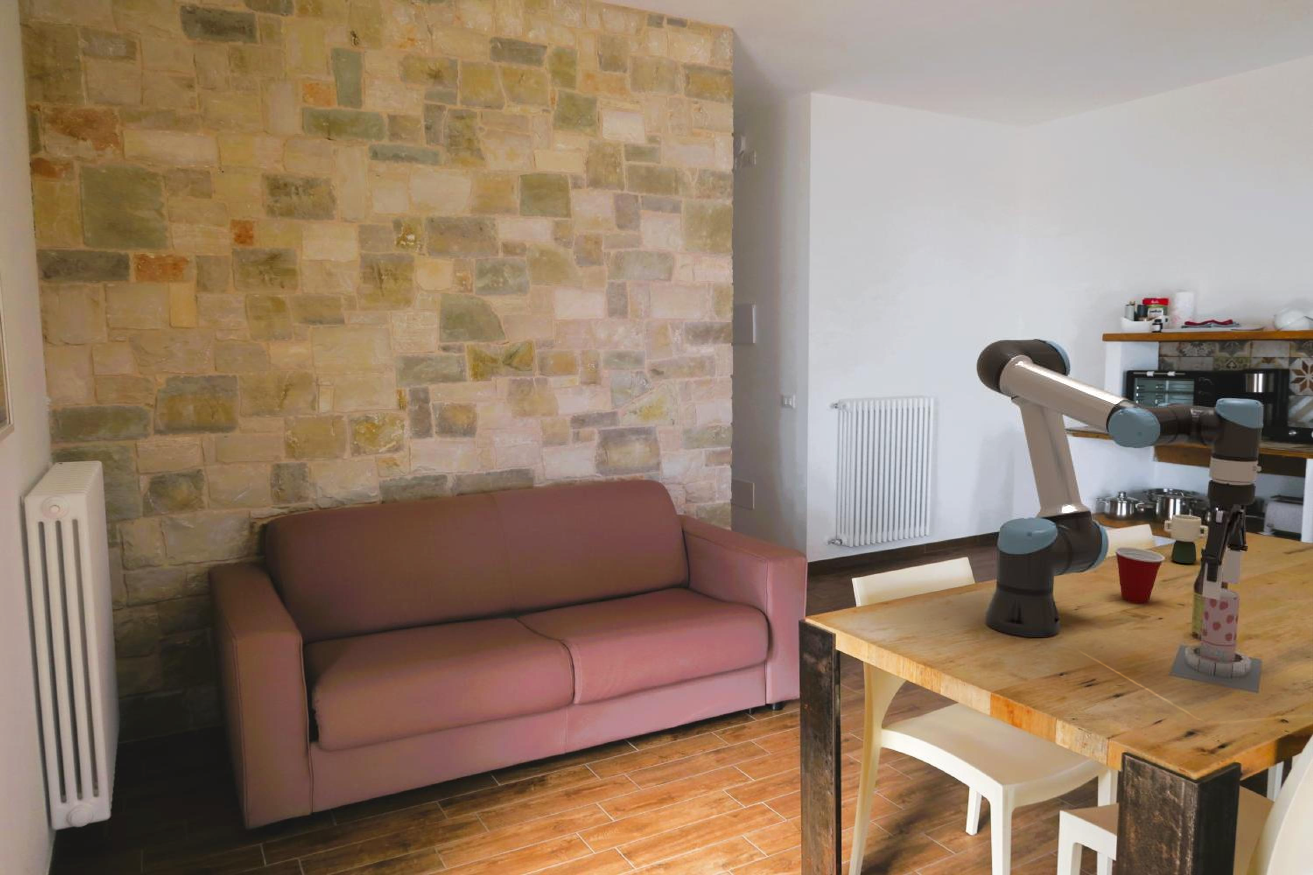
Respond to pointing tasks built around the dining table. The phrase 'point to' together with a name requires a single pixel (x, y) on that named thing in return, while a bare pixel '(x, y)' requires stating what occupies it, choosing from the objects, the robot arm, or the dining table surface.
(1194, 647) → the white segmented ring
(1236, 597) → the beverage can
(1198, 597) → the sauce bottle
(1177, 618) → the dining table surface
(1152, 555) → the plastic cup
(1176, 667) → the holder mat
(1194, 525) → the cup on green stand
